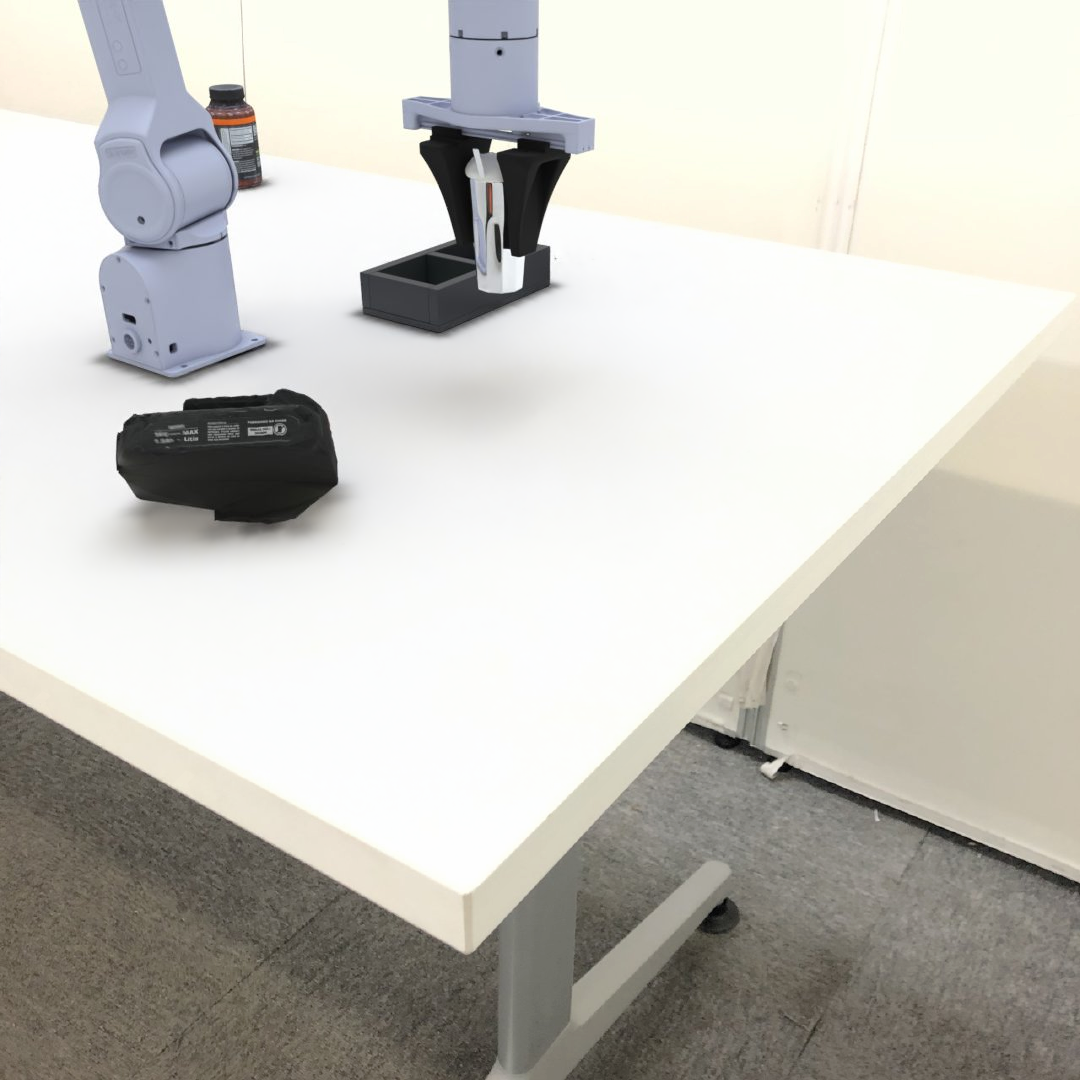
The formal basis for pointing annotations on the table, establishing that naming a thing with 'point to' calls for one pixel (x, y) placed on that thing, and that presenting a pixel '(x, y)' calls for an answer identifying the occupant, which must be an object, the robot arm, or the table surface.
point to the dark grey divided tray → (441, 286)
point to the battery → (232, 456)
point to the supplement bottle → (236, 131)
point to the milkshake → (491, 227)
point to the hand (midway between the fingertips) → (496, 247)
